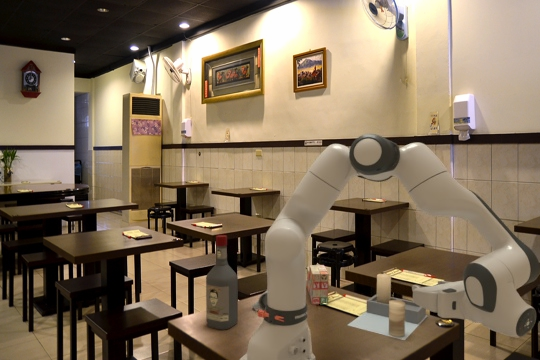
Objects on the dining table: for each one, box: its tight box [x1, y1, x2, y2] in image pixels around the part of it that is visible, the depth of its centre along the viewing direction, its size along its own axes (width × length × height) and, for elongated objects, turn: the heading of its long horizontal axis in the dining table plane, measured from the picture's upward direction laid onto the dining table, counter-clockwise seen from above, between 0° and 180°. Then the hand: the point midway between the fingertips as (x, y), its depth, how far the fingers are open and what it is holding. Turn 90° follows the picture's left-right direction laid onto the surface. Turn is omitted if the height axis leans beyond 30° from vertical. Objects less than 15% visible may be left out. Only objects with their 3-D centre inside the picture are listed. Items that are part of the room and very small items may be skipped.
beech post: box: [389, 300, 405, 337], centre depth 130 cm, size 5×5×10 cm
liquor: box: [205, 234, 239, 331], centre depth 140 cm, size 9×9×30 cm
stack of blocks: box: [306, 264, 330, 305], centre depth 169 cm, size 21×6×12 cm, turn 1°
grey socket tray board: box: [347, 273, 428, 341], centre depth 141 cm, size 24×19×14 cm
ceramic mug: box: [252, 290, 267, 311], centre depth 154 cm, size 11×8×8 cm
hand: (426, 285), depth 118 cm, fingers open, 8 cm apart
